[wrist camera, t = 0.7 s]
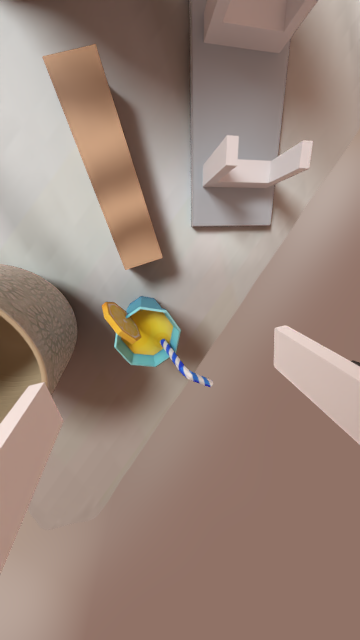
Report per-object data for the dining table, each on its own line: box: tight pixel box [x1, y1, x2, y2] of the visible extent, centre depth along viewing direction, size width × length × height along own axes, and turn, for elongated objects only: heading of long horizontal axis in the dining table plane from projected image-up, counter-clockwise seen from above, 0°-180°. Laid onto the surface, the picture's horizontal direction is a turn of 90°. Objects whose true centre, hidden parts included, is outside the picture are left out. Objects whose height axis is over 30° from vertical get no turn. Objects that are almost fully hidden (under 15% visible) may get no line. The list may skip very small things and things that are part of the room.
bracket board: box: [190, 0, 318, 227], centre depth 23 cm, size 26×12×9 cm, turn 1°
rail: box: [43, 44, 163, 270], centre depth 25 cm, size 20×5×5 cm, turn 17°
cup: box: [102, 296, 213, 387], centre depth 27 cm, size 14×8×15 cm, turn 55°
